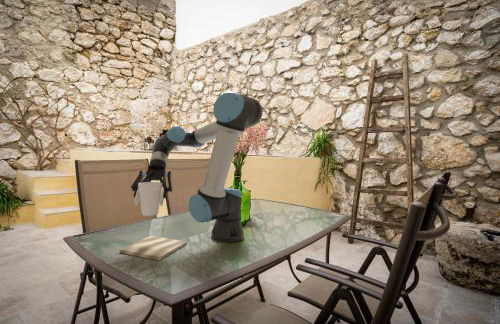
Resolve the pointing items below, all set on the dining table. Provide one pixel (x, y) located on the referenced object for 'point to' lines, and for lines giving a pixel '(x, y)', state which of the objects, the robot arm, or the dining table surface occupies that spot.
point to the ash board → (153, 247)
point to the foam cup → (150, 197)
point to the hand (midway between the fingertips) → (148, 204)
